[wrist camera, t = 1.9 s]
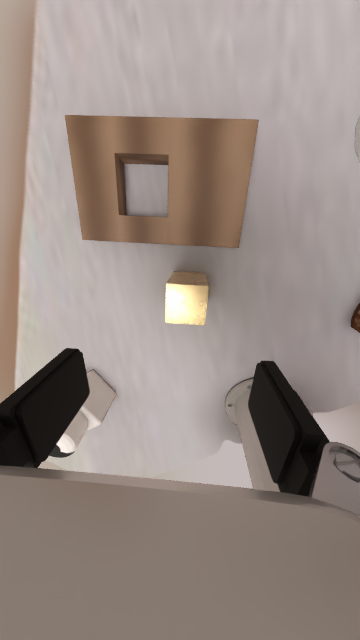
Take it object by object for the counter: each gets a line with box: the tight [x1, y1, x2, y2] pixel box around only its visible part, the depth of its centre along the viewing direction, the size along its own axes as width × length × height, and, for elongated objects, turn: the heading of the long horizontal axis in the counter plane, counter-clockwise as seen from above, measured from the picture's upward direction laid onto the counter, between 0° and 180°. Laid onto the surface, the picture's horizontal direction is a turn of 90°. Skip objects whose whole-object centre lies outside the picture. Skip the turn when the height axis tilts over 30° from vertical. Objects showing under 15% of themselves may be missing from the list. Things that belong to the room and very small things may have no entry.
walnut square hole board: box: [65, 115, 259, 248], centre depth 23 cm, size 20×12×3 cm, turn 87°
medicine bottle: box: [49, 370, 116, 458], centre depth 33 cm, size 7×7×12 cm
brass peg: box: [165, 271, 209, 325], centre depth 25 cm, size 4×4×9 cm
